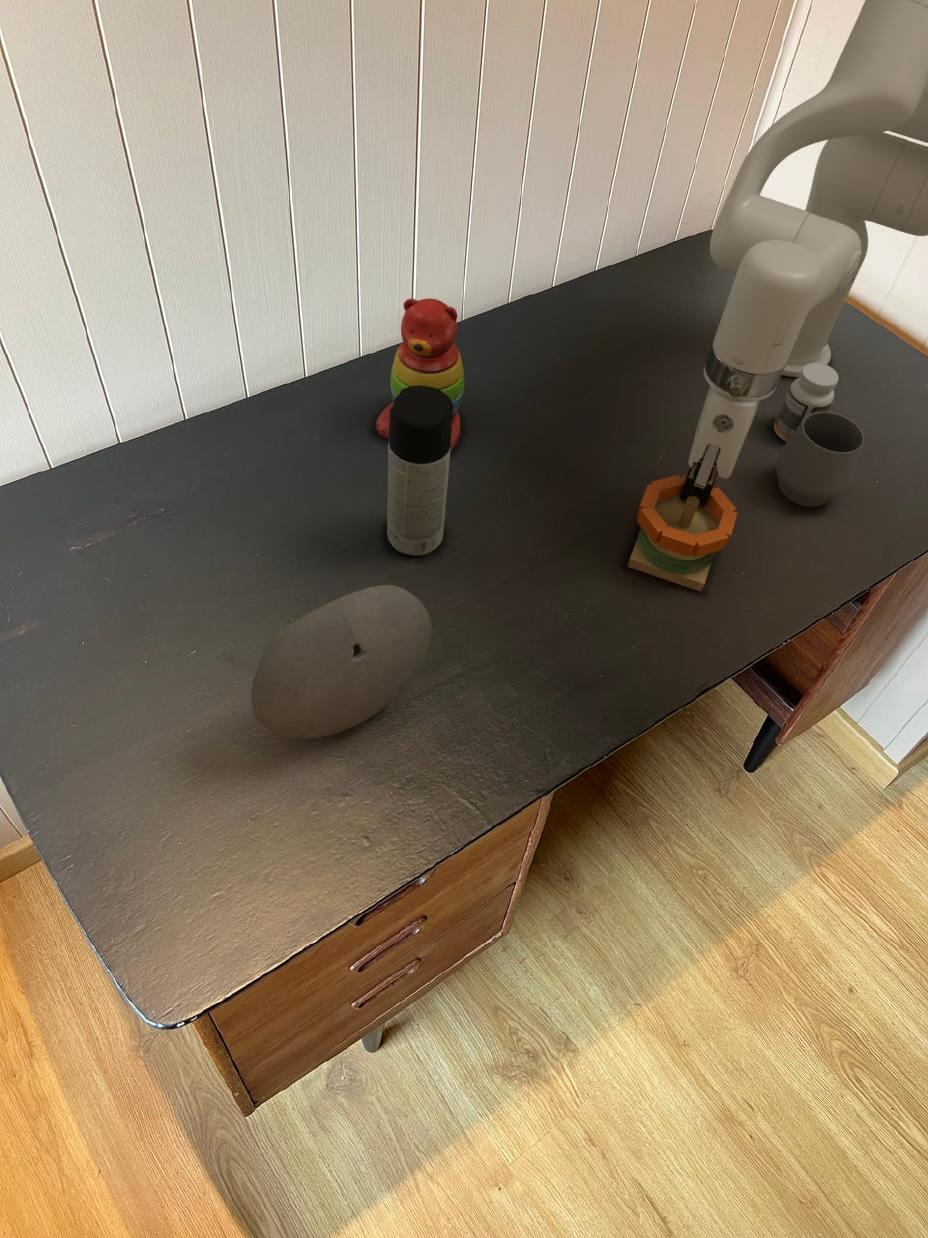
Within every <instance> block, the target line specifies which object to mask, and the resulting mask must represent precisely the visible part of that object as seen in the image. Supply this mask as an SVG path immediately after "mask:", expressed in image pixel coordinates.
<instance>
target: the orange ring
mask: <svg viewBox="0 0 928 1238" xmlns="http://www.w3.org/2000/svg"><path fill="white" fill-rule="evenodd" d="M686 477H687V474H683V475H682V477H681V475H680V474H676V475H672V476H669V477H665V478H660V479H657V480H653V481H651V482H650V483H649V484H647V486H646V488H645V492H644V494H643V496H642V499H641V502H640V504H639V507H638V511H637V513H636V518H637V520H636V522H637V523H638V524H639V526H640V528H641V527H642V528H643V530H644V531H645V533H646V534H647V535H648V537H649V538H650V540H651V541H652V542H653V544H655V543H658V542H659V544H658V547H660V548H663V549H666V550H669V551H672V552H675V553H678V554H681V555H684V556H687V557H691V554H692V555H693V556H694V557H695V558H696V557H699V556H703V555H706V554H709V553H713V552H716V551H717V552H719V551H722V550H724V548H726V547H727V546H728V543H729V542H730V539H731V537H732V534H733V530H734V527H735V524H736V519H737V517H738V512H737V508H736V506H734V504H733V503H732V502H731V500H730V499H729V498H728V497H727V495H726V494H725V493H724V492H723V491H722V490H721V488H720V487H715V485H716V484H714V486H713V488H712V491H711V493H710V496H709V498H708V501H707V503H706V506H705V507H706V510H707V511H708V512H710V513H711V515H712V516H713V517H714V518H715V520H716V522H717V529H715V530H711V531H708V532H705V533H701V534H698V535H692V534H689V533H686V532H683V531H680V530H677V529H674V528H671V527H668V526H667V524H666V523H665V522H664V520H663V519H662V518H661V516H660V515H659V514H658V512H657V511H656V510H655V507H656V506H657V504H658V503H660V502H664V501H668V500H671V499H673V498H679V496H680V493H681V490H682V487H683V485H684V482H685V479H686ZM717 552H716V553H717Z"/></svg>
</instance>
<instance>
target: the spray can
mask: <svg viewBox="0 0 928 1238" xmlns="http://www.w3.org/2000/svg"><path fill="white" fill-rule="evenodd" d="M393 402H394V404H393V407H392V408H391V409H390V418H389V439H388V444H387V448H388V449H387V457H388V458H387V511H386V512H387V513H386V515H387V516H386V518H387V519H386V525H387V526H386V529H387V530H386V534H387V538H388V539H387V540H388V542H389V543H390V545H391V547H392V548H394V549H395V550H396V551H397V552H399V553H401V554H403V555H407V556H412V557H413V556H414V557H416V556H418V557H420V556H427V555H428V554H431V553H432V552H433V551H435V550H436V549H437V548H438V547H439V546H440V545H441V544H442V541H443V537H444V532H445V519H446V509H447V508H446V507H447V506H446V505H447V496H448V495H447V494H448V484H449V473H450V472H449V471H450V461H451V452H452V451H451V435H452V416H453V404H452V401H451V399H450V398H449V397H448V396H447V395H446V394H445V393H444V392H442V391H441V390H439V389H436V388H433V387H429V386H424V385H417V386H411V387H407V388H404V389H402V390H401V392H400V394H399V395H397V396H396V398H395V400H393Z"/></svg>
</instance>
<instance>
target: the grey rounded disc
mask: <svg viewBox="0 0 928 1238" xmlns="http://www.w3.org/2000/svg"><path fill="white" fill-rule="evenodd" d="M431 639H432V621H431V618H430V615H429V612H428V610H427V608H426V606H425V605H424V604H423V602H421V600H420V599H419V598H417V596H415V595H414V594H412V593H411V592H410V591H408V590H406V589H405V588H402V587H400V586H397V585H394V584H380V585H374V586H371V587H367V588H363V589H360V590H357V591H355V592H351V593H349V594H346V595H343V596H342V597H339V598H337V599H334V600H333V601H330V602H328V603H325V604H324V605H322V606H320V607H318V608H316V609H314V610H311V611H310V612H308V613H306V614H305V615H302V616H301V617H300V618H298V619H297V620H295V621H293V622H292V623H290V624H288V625H287V626H286V627H284V628H283V629H282V630H280V631H279V632H278V633H276V634H275V635H274V636H273V637H272V638H271V639H270V640H269V641H268V643H267V644H266V646H265V648H264V650H263V652H262V655H261V657H260V658H259V661H258V664H257V667H256V670H255V674H254V677H253V680H252V684H251V685H252V686H251V692H250V693H251V694H250V700H251V707H252V710H253V713H254V716H255V718H256V720H257V721H258V722H259V724H260V725H261V726H262V727H263V728H264V729H266V730H267V731H268V732H270V733H271V734H273V735H276V736H278V737H282V738H285V739H292V740H310V739H319V738H324V737H327V736H331V735H334V734H335V735H336V734H338V733H341V732H344V731H346V730H349V729H351V728H353V727H355V726H357V725H359V724H361V723H363V722H365V721H366V720H368V719H370V718H372V717H373V716H375V715H376V714H377V713H379V712H380V711H382V710H383V709H384V708H386V707H388V705H390V704H391V703H392V702H394V700H396V699H397V698H398V697H399V696H400V695H401V694H402V693H403V692H404V691H405V690H406V689H407V687H408V686H410V684H412V681H413V680H414V679H415V678H416V676H417V675H418V673H419V671H420V670H421V668H422V667H423V665H424V662H425V660H426V658H427V655H428V653H429V649H430V644H431Z"/></svg>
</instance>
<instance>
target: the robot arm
mask: <svg viewBox="0 0 928 1238" xmlns="http://www.w3.org/2000/svg"><path fill="white" fill-rule="evenodd" d="M887 132H890V133H887ZM891 133H894V134H897V135H900V136H903V137H900V136H897V135H894V134H891ZM904 137H906V138H909V139H913V140H916V141H919V142H922V143H926V144H928V0H864V2H863V5H862V6H861V10H860V11H859V13H858V16H857V18H856V20H855V23H854V25H853V27H852V29H851V32H850V34H849V36H848V38H847V40H846V43H845V44H844V47H843V49H842V52H841V53H840V55H839V58H838V60H837V62H836V64H835V67H834V69H833V71H832V73H831V76H830V78H829V80H828V81H827V83H826V85H825V86H824V87H823V89H821V90H820V91H819V92H817V93H816V94H815V95H813V96H811V97H810V98H808V99H806V100H805V101H804V102H802V103H800V104H798V105H797V106H795V107H794V108H792V109H790V110H789V111H788V112H786V113H785V114H784V115H782V116H781V117H780V118H779V119H777V120H776V121H775V122H774V123H773V124H772V125H771V126H769V127H768V128H767V130H765V132H764V133H763V134H762V135H760V137H759V138H758V140H757V141H755V143H754V145H752V147H751V148H750V150H749V152H748V153H747V154H746V156H745V158H744V159H743V162H742V163H741V165H740V167H739V169H738V171H737V173H736V176H735V178H734V181H733V183H732V185H731V187H730V189H729V191H728V194H727V195H726V199H725V201H724V202H723V205H722V207H721V209H720V212H719V214H718V216H717V218H716V221H715V224H714V227H713V230H712V233H711V237H710V243H709V254H710V257H711V260H712V262H713V263H714V265H715V266H717V267H718V268H719V269H720V270H722V271H724V272H726V273H729V274H731V275H733V276H734V281H733V282H732V286H731V289H730V292H729V295H728V298H727V301H726V303H725V306H724V309H723V312H722V315H721V318H720V321H719V324H718V327H717V330H716V332H715V335H714V338H713V342H712V344H711V347H710V350H709V353H708V356H707V359H706V362H705V365H704V367H703V376H704V379H705V381H706V383H707V384H708V386H709V389H708V392H707V394H706V396H705V400H704V403H703V407H702V409H701V411H700V415H699V419H698V422H697V426H696V430H695V433H694V437H693V441H692V445H691V450H690V453H689V456H688V460H687V464H688V466H689V469H688V471H687V474H686V476H687V477H686V479H685V482H684V485H683V487H682V490H681V493H680V496H678V498H679V499H678V500H683V501H687V498H688V497H690V496H694V497H697V498H698V499H699V505H698V506H701V507H703V508H705V507H706V503H707V501H708V498H709V496H710V493H711V491H712V488H713V486H714V485H716V481H717V480H716V479H717V476H718V477H719V478H721V479H724V480H726V479H728V478H730V477H731V476H732V473H733V471H734V468H735V466H736V463H737V460H738V458H739V456H740V453H741V450H742V448H743V445H744V443H745V440H746V439H747V436H748V433H749V431H750V428H751V426H752V424H753V421H754V419H755V418H754V417H755V416H756V413H757V411H758V408H759V405H760V402H761V401H762V400H765V399H768V398H770V396H772V395H773V394H774V392H775V391H776V388H777V386H778V383H779V382H780V379H781V377H782V376H785V377H790V378H799V375H800V373H801V371H802V369H803V367H804V366H805V365H807V364H810V363H821V364H825V365H827V366H829V364H830V361H831V358H832V351H831V348H830V346H829V344H828V339H829V337H830V335H831V333H832V330H833V329H834V326H835V324H836V322H837V320H838V317H839V316H840V313H841V312H842V309H843V307H844V305H845V302H846V300H847V298H848V296H849V294H850V292H851V289H852V287H853V285H854V283H855V281H856V279H857V276H858V275H859V272H860V270H861V268H862V266H863V264H864V261H865V260H866V256H867V254H868V249H869V234H868V229H867V224H866V222H870V223H874V224H877V225H879V226H884V227H885V228H889V229H892V230H894V231H898V232H901V233H904V234H908V235H912V236H915V237H927V236H928V146H927V145H924V144H921V143H918V142H914V141H912V140H908V139H906V138H904ZM825 141H826V142H825ZM820 142H821V143H822V142H825V144H824V145H823V146H822V149H821V150H820V153H819V156H818V158H817V161H816V164H815V168H814V173H813V177H812V181H811V182H812V183H811V187H810V190H809V195H808V199H807V203H806V206H805V209H802V208H799V207H796V206H793V205H790V204H787V203H784V202H781V201H778V200H776V199H772V198H770V197H765V196H763V195H761V194H762V191H763V189H764V187H765V185H766V183H767V182H768V180H769V178H770V176H771V175H772V174H773V172H774V170H775V169H776V168H777V167H778V166H779V165H780V164H781V163H782V162H783V161H784V160H785V159H786V158H788V157H789V156H791V155H792V154H794V153H796V152H799V151H800V150H801V149H803V148H806V147H809V146H811V145H814V144H818V143H820ZM714 487H715V486H714Z"/></svg>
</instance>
